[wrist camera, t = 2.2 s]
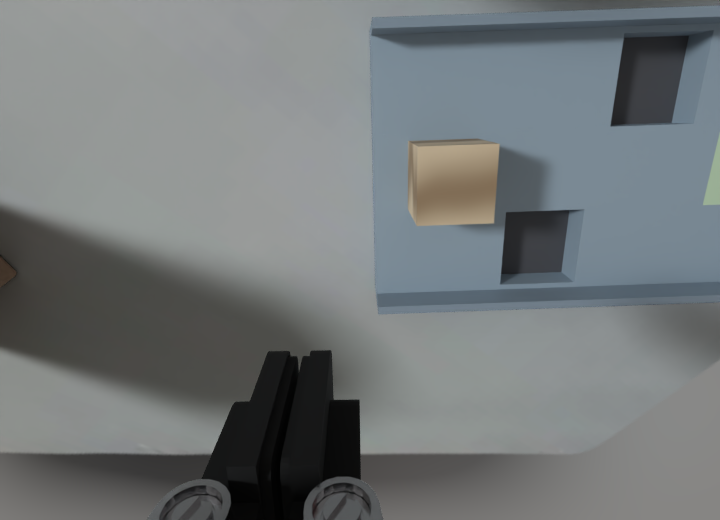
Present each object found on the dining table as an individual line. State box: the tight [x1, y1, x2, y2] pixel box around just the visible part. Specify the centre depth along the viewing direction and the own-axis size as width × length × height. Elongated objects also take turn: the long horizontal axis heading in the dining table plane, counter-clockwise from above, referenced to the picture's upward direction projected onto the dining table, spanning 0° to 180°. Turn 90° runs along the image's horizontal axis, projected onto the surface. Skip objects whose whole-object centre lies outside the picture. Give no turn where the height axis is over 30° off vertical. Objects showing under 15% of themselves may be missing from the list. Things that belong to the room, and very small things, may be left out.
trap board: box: [370, 5, 720, 314], centre depth 32 cm, size 20×32×5 cm, turn 92°
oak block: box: [408, 138, 500, 226], centre depth 29 cm, size 5×5×5 cm
